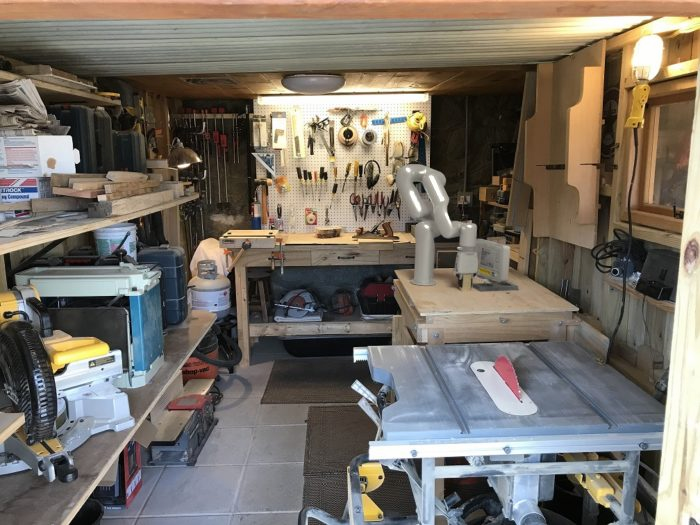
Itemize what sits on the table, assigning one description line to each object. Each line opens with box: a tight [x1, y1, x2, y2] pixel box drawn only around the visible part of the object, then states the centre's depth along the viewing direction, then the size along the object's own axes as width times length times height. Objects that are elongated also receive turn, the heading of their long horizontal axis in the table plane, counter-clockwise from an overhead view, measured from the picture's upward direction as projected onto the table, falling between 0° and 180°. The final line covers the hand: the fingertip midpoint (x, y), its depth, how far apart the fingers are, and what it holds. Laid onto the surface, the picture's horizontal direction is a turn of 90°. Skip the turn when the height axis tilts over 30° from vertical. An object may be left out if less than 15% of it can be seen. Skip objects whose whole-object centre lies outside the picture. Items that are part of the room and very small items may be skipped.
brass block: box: [458, 273, 472, 292], centre depth 262 cm, size 4×4×8 cm
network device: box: [473, 238, 511, 283], centre depth 281 cm, size 26×9×20 cm, turn 22°
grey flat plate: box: [472, 281, 519, 292], centre depth 266 cm, size 8×20×2 cm, turn 103°
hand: (464, 286), depth 262 cm, fingers closed on brass block, 4 cm apart
